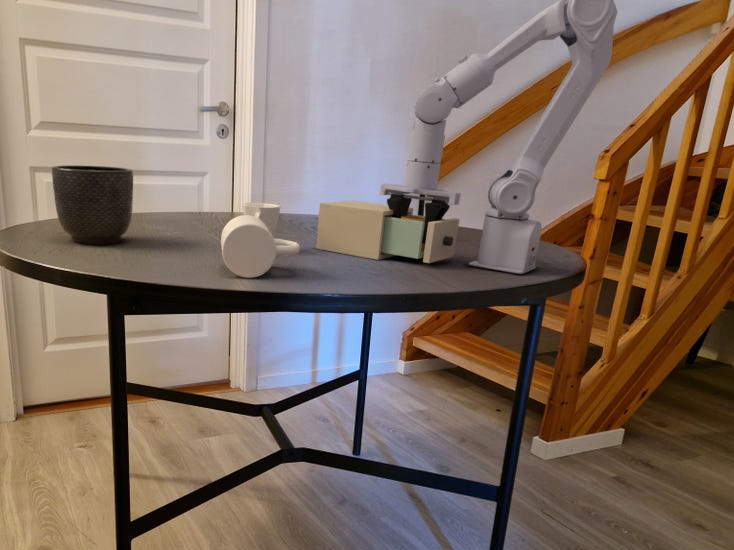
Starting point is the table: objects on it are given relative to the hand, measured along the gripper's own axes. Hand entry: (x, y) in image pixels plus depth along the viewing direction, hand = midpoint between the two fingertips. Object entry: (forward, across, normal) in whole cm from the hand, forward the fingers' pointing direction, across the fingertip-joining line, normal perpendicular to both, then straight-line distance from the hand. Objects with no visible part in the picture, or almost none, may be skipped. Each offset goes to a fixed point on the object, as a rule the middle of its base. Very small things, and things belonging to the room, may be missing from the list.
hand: (411, 240), depth 112 cm
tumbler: (+1, 0, 0) cm, 1 cm away
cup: (+4, -22, -17) cm, 28 cm away
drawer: (+3, +1, 0) cm, 3 cm away
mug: (+4, -10, -31) cm, 33 cm away
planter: (+5, -46, -35) cm, 58 cm away
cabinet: (+4, -10, 0) cm, 11 cm away
